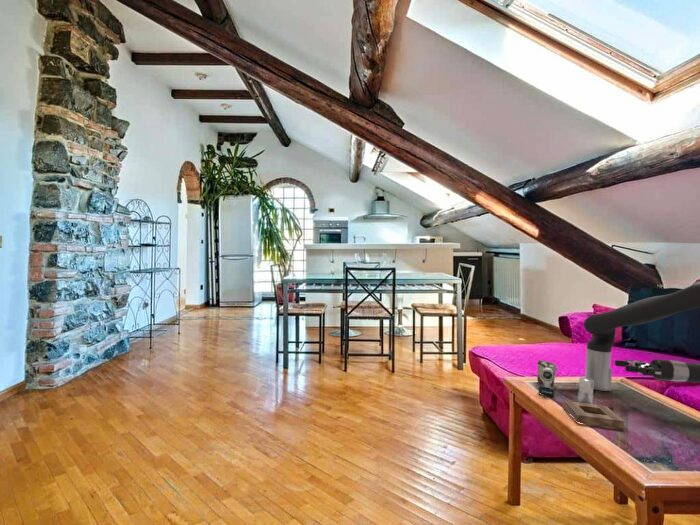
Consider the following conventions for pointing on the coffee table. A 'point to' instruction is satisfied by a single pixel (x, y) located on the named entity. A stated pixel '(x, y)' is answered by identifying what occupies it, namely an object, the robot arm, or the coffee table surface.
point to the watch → (547, 382)
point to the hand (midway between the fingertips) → (620, 365)
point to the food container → (542, 366)
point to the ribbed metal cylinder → (585, 390)
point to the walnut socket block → (594, 415)
